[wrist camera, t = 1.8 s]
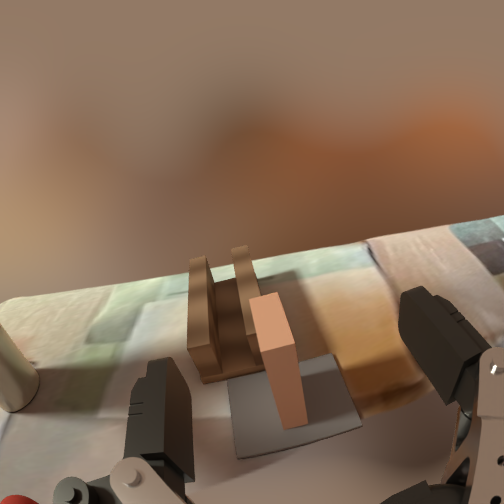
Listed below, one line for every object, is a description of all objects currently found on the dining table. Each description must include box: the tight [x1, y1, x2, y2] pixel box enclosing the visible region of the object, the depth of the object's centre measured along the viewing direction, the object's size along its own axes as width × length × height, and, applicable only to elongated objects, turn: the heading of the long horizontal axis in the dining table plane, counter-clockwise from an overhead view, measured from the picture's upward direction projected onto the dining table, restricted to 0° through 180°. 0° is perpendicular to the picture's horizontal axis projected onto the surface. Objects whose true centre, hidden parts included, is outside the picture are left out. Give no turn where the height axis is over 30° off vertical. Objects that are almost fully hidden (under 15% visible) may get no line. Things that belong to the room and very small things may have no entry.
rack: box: [187, 245, 266, 384], centre depth 41 cm, size 18×9×6 cm, turn 8°
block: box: [249, 292, 308, 430], centre depth 27 cm, size 6×2×12 cm, turn 8°
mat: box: [227, 353, 362, 459], centre depth 30 cm, size 10×12×1 cm
